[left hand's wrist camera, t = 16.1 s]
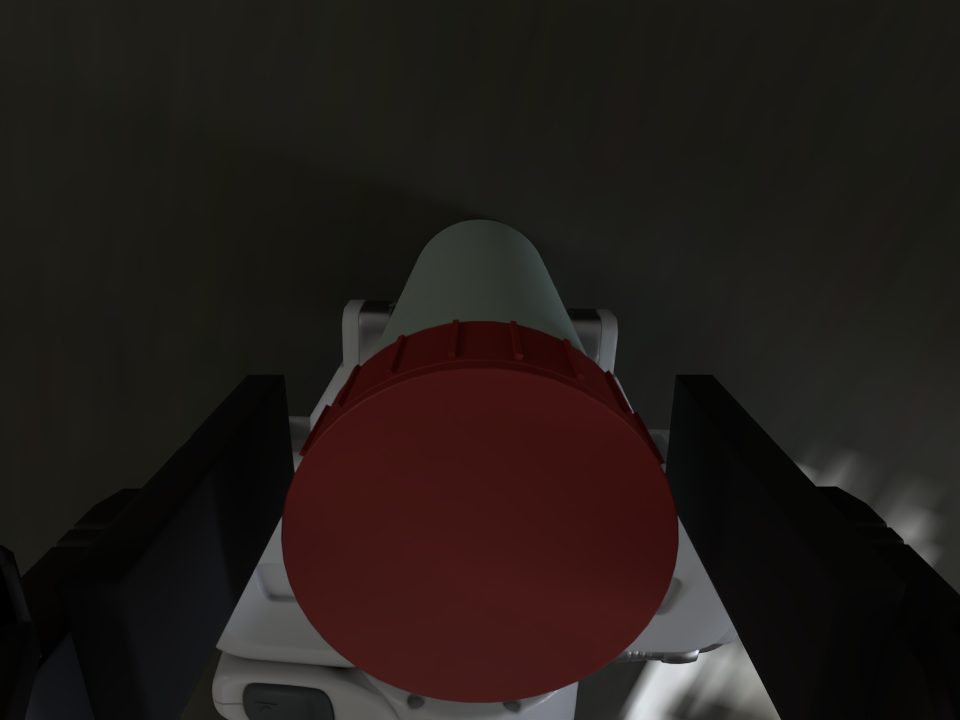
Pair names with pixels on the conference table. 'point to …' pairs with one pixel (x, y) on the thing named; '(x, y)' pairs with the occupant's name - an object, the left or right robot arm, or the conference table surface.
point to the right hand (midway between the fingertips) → (479, 308)
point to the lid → (479, 516)
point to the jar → (479, 284)
